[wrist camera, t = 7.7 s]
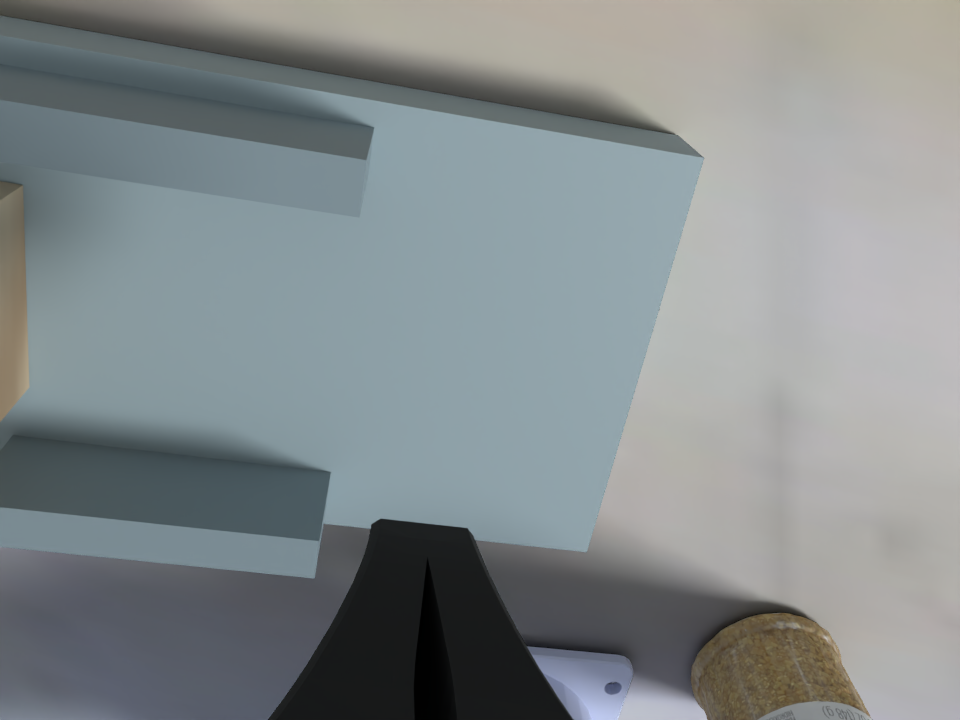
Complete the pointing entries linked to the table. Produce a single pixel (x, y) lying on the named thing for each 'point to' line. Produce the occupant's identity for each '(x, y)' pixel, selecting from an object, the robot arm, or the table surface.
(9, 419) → the deck
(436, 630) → the robot arm
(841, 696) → the sprinkles bottle
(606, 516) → the table surface
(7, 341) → the block
